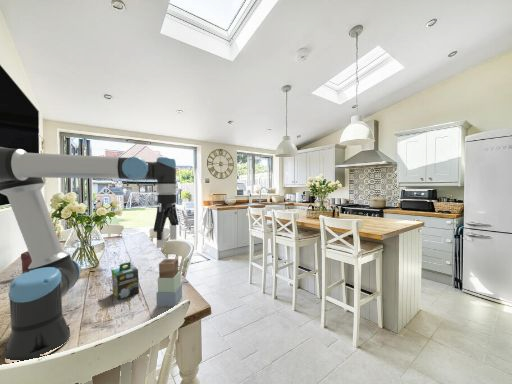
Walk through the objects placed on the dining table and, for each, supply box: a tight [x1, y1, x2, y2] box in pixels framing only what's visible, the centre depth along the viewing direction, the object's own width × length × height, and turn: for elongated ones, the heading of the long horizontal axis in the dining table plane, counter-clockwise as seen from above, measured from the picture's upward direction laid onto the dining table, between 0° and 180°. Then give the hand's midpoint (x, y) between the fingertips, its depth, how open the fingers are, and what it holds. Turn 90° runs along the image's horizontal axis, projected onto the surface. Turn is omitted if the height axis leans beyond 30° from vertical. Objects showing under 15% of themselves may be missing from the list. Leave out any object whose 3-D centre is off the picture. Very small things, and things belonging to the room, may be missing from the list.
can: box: [20, 251, 32, 274], centre depth 128 cm, size 6×6×14 cm
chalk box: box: [111, 261, 140, 301], centre depth 107 cm, size 9×9×15 cm
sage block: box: [157, 271, 182, 292], centre depth 98 cm, size 7×7×6 cm
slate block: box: [155, 283, 183, 308], centre depth 99 cm, size 8×8×6 cm
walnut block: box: [158, 258, 180, 278], centre depth 98 cm, size 6×6×6 cm
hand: (167, 243), depth 98 cm, fingers open, 13 cm apart
